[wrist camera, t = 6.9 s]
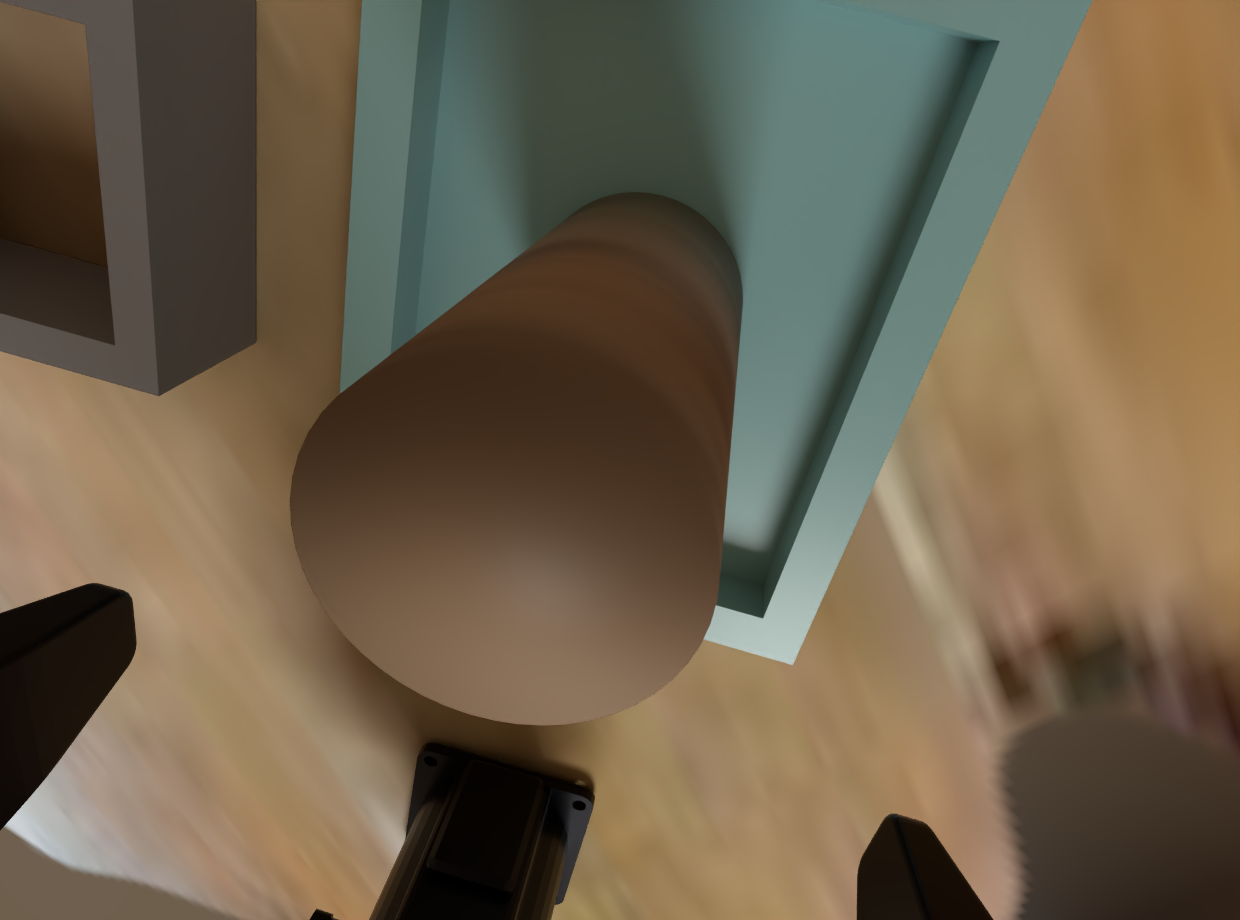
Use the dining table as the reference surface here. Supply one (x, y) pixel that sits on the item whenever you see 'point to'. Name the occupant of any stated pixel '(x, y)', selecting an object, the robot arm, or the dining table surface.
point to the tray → (715, 208)
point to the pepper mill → (539, 474)
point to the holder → (153, 201)
